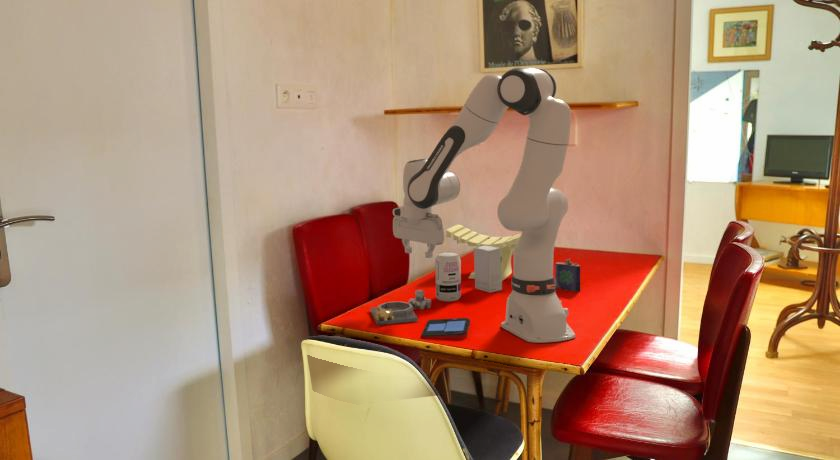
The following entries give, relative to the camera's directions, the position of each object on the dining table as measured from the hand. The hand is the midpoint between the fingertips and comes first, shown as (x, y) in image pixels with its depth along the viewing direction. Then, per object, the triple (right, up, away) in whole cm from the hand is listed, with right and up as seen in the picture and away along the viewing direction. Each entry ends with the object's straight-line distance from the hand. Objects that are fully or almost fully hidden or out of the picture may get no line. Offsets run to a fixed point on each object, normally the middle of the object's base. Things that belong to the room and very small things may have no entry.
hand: (418, 255), depth 204 cm
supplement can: (+10, -15, +11) cm, 21 cm away
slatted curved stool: (+27, -9, +42) cm, 51 cm away
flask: (+51, -13, +19) cm, 56 cm away
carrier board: (-8, -18, -7) cm, 21 cm away
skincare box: (+24, -13, +21) cm, 34 cm away
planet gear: (0, -16, +3) cm, 17 cm away
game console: (+8, -21, -21) cm, 31 cm away
